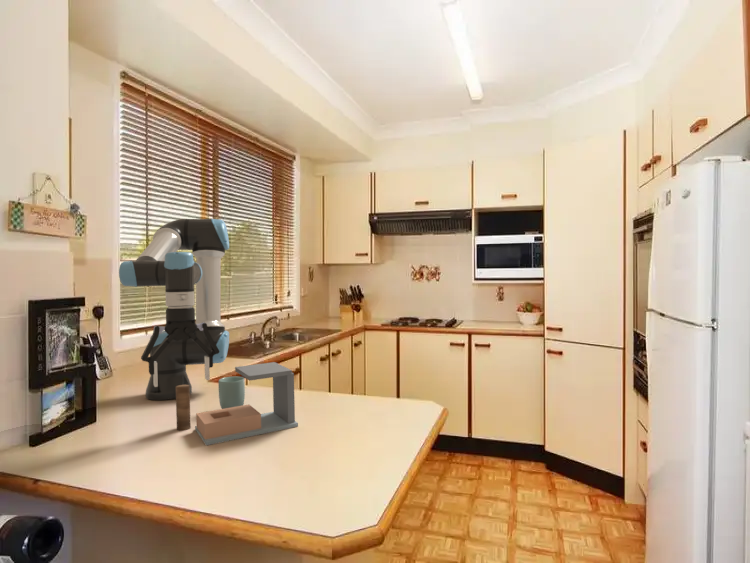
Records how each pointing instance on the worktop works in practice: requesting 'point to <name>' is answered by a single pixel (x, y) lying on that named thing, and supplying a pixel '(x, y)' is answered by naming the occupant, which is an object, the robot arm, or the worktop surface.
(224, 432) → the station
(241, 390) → the cup
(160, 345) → the robot arm
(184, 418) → the peg
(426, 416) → the worktop surface
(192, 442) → the worktop surface
